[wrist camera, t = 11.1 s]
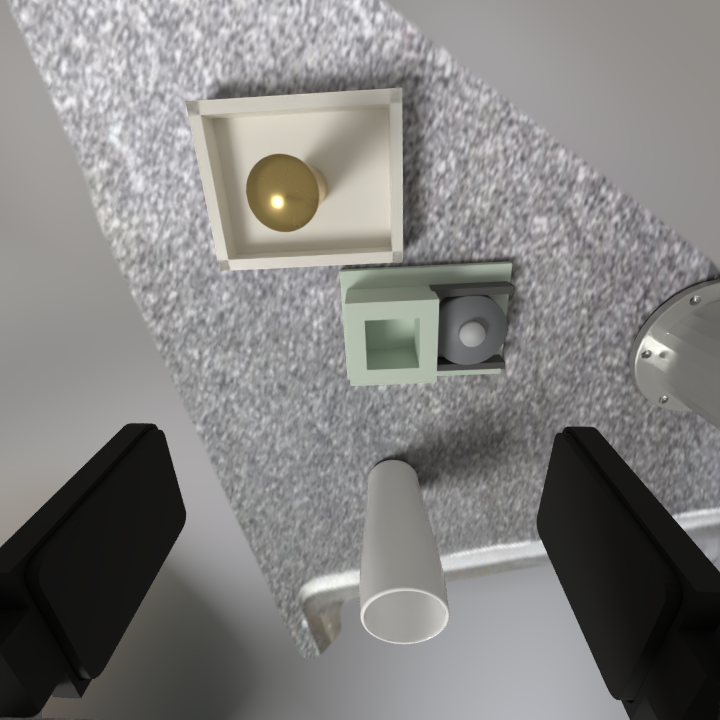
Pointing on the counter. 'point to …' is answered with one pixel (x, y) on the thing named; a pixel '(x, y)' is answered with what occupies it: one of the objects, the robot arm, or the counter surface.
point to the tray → (316, 148)
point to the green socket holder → (424, 321)
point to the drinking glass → (400, 560)
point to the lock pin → (285, 192)
